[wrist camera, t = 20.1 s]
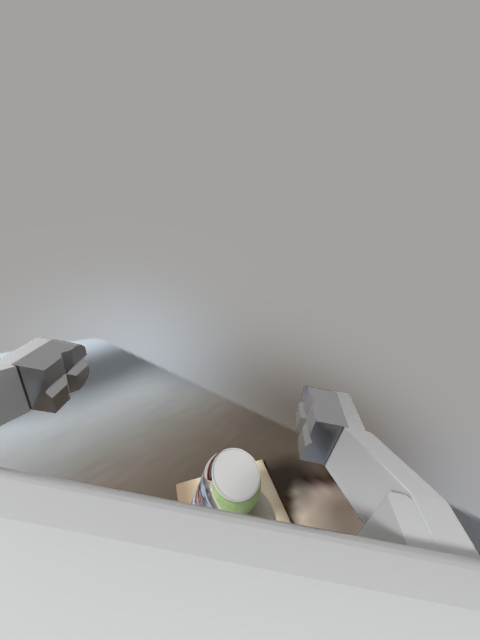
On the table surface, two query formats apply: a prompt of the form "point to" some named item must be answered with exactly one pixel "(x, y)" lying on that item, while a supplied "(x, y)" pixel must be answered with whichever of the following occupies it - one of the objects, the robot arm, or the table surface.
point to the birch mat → (264, 507)
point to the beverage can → (229, 482)
